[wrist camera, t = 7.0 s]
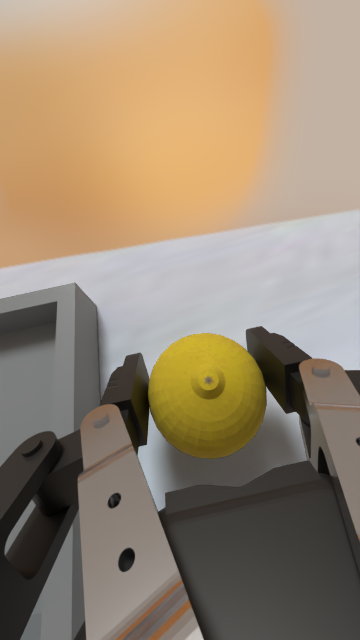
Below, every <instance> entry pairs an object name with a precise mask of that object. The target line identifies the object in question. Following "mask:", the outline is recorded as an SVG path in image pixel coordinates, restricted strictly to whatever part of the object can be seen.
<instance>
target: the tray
mask: <svg viewBox="0 0 360 640" xmlns="http://www.w3.org/2000/svg"><path fill="white" fill-rule="evenodd" d="M99 406H100V383H99V357H98V332H97V307H96V305H95V304H94V303H93V301H92V300H91V299H90V298H89V297H88V296H87V295H86V294H85V293H84V292H83V291H82V290H81V289H80V287H79V286H78V285H77V284H76V283H71V284H67V285H62V286H58V287H53V288H48V289H44V290H39V291H35V292H30V293H25V294H21V295H16V296H12V297H7V298H2V299H0V467H1V465H2V464H3V463H4V462H5V461H6V460H7V458H8V457H9V456H10V455H11V454H12V453H13V452H14V450H15V449H16V448H17V447H18V446H19V445H20V444H22V443H23V442H24V441H25V440H27V439H28V438H30V437H32V436H33V435H36V434H38V433H40V432H44V431H52V432H54V433H55V435H56V437H57V439H60V438H62V437H64V436H66V435H68V434H71V433H73V432H75V431H77V430H79V429H80V425H81V423H82V421H83V419H84V418H85V417H86V415H87V414H89V413H90V412H91V411H92V410H94V409H96V408H97V407H99ZM35 506H36V505H35V503H34V502H33V501H32V500H31V502H30V503H29V505H28V506H27V508H26V509H25V511H24V512H23V514H22V516H21V517H20V519H19V520H18V522H17V523H16V525H15V526H14V528H13V529H12V531H11V533H10V535H9V537H8V539H7V542H6V545H5V555H6V553H7V552H8V550H9V548H10V547H11V545H12V543H13V542H14V540H15V539H16V537H17V535H18V534H19V532H20V530H21V529H22V527H23V526H24V524H25V522H26V521H27V519H28V517H29V516H30V514H31V513H32V511H33V509H34V508H35ZM84 621H85V605H84V587H83V569H82V551H81V533H80V515H79V510H78V512H77V514H76V517H75V519H74V521H73V523H72V525H71V528H70V530H69V532H68V534H67V537H66V539H65V541H64V543H63V545H62V548H61V550H60V552H59V554H58V557H57V559H56V561H55V563H54V566H53V568H52V570H51V572H50V574H49V577H48V579H47V581H46V583H45V586H44V588H43V590H42V592H41V594H40V597H39V599H38V601H37V603H36V606H35V608H34V610H33V612H32V614H31V617H30V619H29V621H28V623H27V626H26V628H25V630H24V632H23V634H22V637H21V639H20V640H74V638H75V636H76V635H77V633H78V631H79V629H80V628H81V626H82V624H83V622H84Z"/></svg>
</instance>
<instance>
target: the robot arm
mask: <svg viewBox="0 0 360 640" xmlns="http://www.w3.org/2000/svg"><path fill="white" fill-rule="evenodd" d="M246 340H247V350H248V353H249V354H250V355H251V356H252V357H253V358H254V359H255V361H256V363H257V365H258V367H259V368H260V370H261V372H262V375H263V379H264V382H265V386H266V387H267V388H268V390H269V391H270V392H271V394H272V395H273V396H274V398H275V399H276V401H277V402H278V403H279V405H280V406H281V407H282V409H283V410H284V411H285V413H286V414H287V413H292V412H297V413H298V414H299V425H300V429H301V434H302V438H303V443H304V448H305V452H306V457H307V461H304V462H299V463H295V464H290V465H286V466H282V467H277V468H274V469H272V470H270V471H268V472H267V473H265V474H263V475H262V476H260V477H258V478H256V479H255V480H253V481H251V482H249V483H248V484H246V485H244V486H242V487H226V486H210V485H198V486H194V487H190V488H185V489H181V490H176V491H172V492H168V493H165V501H166V507H165V508H164V509H162V510H160V511H159V512H158V510H157V507H156V505H155V502H154V499H153V497H152V494H151V491H150V489H149V486H148V483H147V481H146V478H145V475H144V473H143V470H142V467H141V465H140V462H139V459H138V457H137V455H138V447H139V446H143V445H147V435H148V420H149V401H148V388H149V376H148V373H147V369H146V366H145V363H144V359H143V356H142V354H141V353H137V354H132V355H128V356H126V358H125V361H124V364H123V366H121V367H118V368H117V369H116V370H115V371H114V372H113V373H112V374H111V377H110V379H109V382H108V385H107V388H106V390H105V393H104V395H103V398H102V400H101V403H100V406H99V407H97V408H96V409H94V410H92V411H91V412H90V413H89V414H87V415H86V417H85V418H84V419H83V421H82V423H81V425H80V429H79V430H77V431H75V432H73V433H71V434H68V435H66V436H64V437H62V438H60V439H57V437H56V435H55V433H54V432H52V431H44V432H40V433H38V434H36V435H33V436H32V437H30V438H28V439H27V440H25V441H24V442H23V443H22V444H20V445H19V446H18V447H17V448H16V449H15V450H14V452H13V453H12V454H11V455H10V456H9V457H8V458H7V460H6V461H5V462H4V463H3V464H2V465H1V467H0V640H20V639H21V637H22V634H23V632H24V630H25V628H26V626H27V623H28V621H29V619H30V617H31V614H32V612H33V610H34V608H35V606H36V603H37V601H38V599H39V597H40V594H41V592H42V590H43V588H44V586H45V583H46V581H47V579H48V577H49V574H50V572H51V570H52V568H53V566H54V563H55V561H56V559H57V557H58V554H59V552H60V550H61V548H62V545H63V543H64V541H65V539H66V537H67V534H68V532H69V530H70V528H71V525H72V523H73V521H74V519H75V517H76V514H77V512H78V510H79V515H80V533H81V551H82V569H83V587H84V605H85V621H84V622H83V624H82V626H81V628H80V629H79V631H78V633H77V635H76V636H75V638H74V640H360V370H344V369H343V368H342V367H341V366H340V365H339V364H337V363H335V362H333V361H330V360H326V359H313V358H311V357H310V356H309V355H307V354H306V353H305V352H303V351H302V350H301V349H299V348H298V347H297V346H295V345H294V344H293V343H292V342H290V341H289V340H288V339H286V338H285V337H284V336H281V335H278V334H276V333H271V334H270V333H269V332H268V331H267V330H266V329H264V328H263V327H262V326H259V327H255V328H250V329H247V330H246ZM31 500H32V501H33V502H34V503H35V505H36V506H35V508H34V509H33V511H32V513H31V514H30V516H29V517H28V519H27V521H26V522H25V524H24V526H23V527H22V529H21V530H20V532H19V534H18V535H17V537H16V539H15V540H14V542H13V543H12V545H11V547H10V548H9V550H8V552H7V553H6V555H5V545H6V542H7V539H8V537H9V535H10V533H11V531H12V529H13V528H14V526H15V525H16V523H17V522H18V520H19V519H20V517H21V516H22V514H23V512H24V511H25V509H26V508H27V506H28V505H29V503H30V502H31Z"/></svg>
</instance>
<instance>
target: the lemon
mask: <svg viewBox="0 0 360 640" xmlns="http://www.w3.org/2000/svg"><path fill="white" fill-rule="evenodd" d="M148 401H149V407H150V412H151V415H152V417H153V420H154V422H155V424H156V427H157V428H158V430H159V431H160V432H161V434H162V435H163V436H164V438H165V439H166V440H167V441H168V442H169V443H171V444H172V445H173V446H174V447H176V448H177V449H178V450H180V451H181V452H184V453H186V454H189V455H191V456H194V457H198V458H208V459H214V458H219V457H224V456H229V455H230V454H232V453H234V452H236V451H238V450H240V449H242V448H243V447H244V446H245V445H246V444H247V443H248V442H249V441H250V440H251V439H252V438H253V437H254V436H255V434H256V433H257V431H258V429H259V427H260V425H261V423H262V422H263V418H264V414H265V410H266V405H267V400H266V386H265V382H264V379H263V375H262V372H261V370H260V368H259V367H258V365H257V363H256V361H255V359H254V358H253V357H252V356H251V355H250V354H249V353H248V351H247V350H246V349H245V348H243V347H242V346H241V345H239V344H238V343H236V342H235V341H233V340H231V339H229V338H226V337H224V336H221V335H216V334H210V333H202V334H193V335H190V336H187V337H184V338H181V339H180V340H178V341H176V342H175V343H173V344H171V345H170V346H169V347H168V348H167V349H166V350H165V351H164V352H163V353H162V354H161V356H160V357H159V359H158V360H157V362H156V364H155V365H154V367H153V370H152V373H151V376H150V380H149V388H148Z"/></svg>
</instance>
